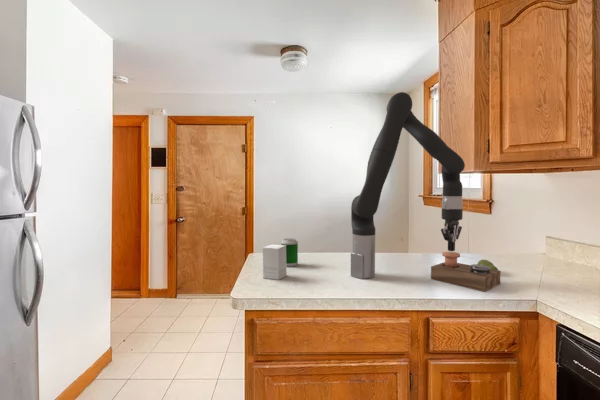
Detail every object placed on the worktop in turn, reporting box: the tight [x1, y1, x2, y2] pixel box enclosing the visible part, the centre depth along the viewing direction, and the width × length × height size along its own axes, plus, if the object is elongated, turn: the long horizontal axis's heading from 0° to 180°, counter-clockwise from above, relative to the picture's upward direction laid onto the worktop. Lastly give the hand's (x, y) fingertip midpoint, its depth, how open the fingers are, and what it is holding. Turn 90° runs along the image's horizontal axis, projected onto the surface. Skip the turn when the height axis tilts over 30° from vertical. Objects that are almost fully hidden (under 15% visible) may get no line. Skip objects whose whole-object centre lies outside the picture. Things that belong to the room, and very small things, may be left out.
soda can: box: [280, 238, 299, 268], centre depth 151 cm, size 8×8×12 cm
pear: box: [477, 259, 499, 270], centre depth 137 cm, size 6×5×10 cm
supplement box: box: [262, 243, 288, 281], centre depth 132 cm, size 7×7×13 cm
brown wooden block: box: [430, 261, 502, 293], centre depth 126 cm, size 14×20×5 cm
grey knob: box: [469, 263, 490, 274], centre depth 121 cm, size 6×6×6 cm
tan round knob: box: [441, 251, 461, 268], centre depth 130 cm, size 6×6×6 cm
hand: (451, 250), depth 129 cm, fingers closed
